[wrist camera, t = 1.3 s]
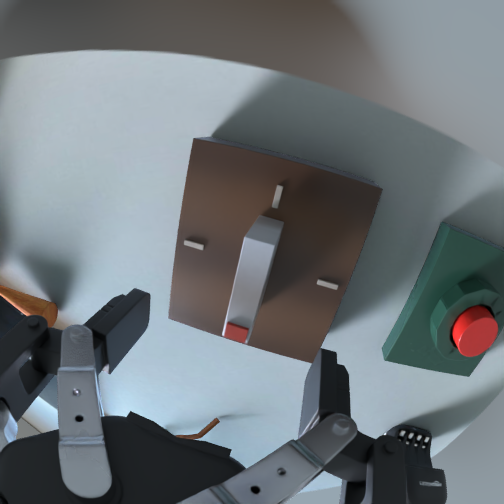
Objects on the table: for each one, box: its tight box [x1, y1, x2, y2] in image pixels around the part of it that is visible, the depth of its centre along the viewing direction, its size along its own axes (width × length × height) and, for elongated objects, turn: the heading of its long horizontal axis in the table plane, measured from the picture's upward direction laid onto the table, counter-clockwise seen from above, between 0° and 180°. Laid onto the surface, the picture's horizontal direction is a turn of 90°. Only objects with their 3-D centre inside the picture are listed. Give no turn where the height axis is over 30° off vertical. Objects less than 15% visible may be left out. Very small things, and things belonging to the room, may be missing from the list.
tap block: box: [168, 137, 382, 363], centre depth 22 cm, size 14×12×3 cm
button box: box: [382, 222, 504, 377], centre depth 20 cm, size 12×10×4 cm
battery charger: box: [384, 425, 447, 504], centre depth 23 cm, size 7×4×11 cm, turn 66°
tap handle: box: [222, 215, 284, 343], centre depth 18 cm, size 6×2×4 cm, turn 167°
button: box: [452, 305, 498, 357], centre depth 18 cm, size 4×4×2 cm
